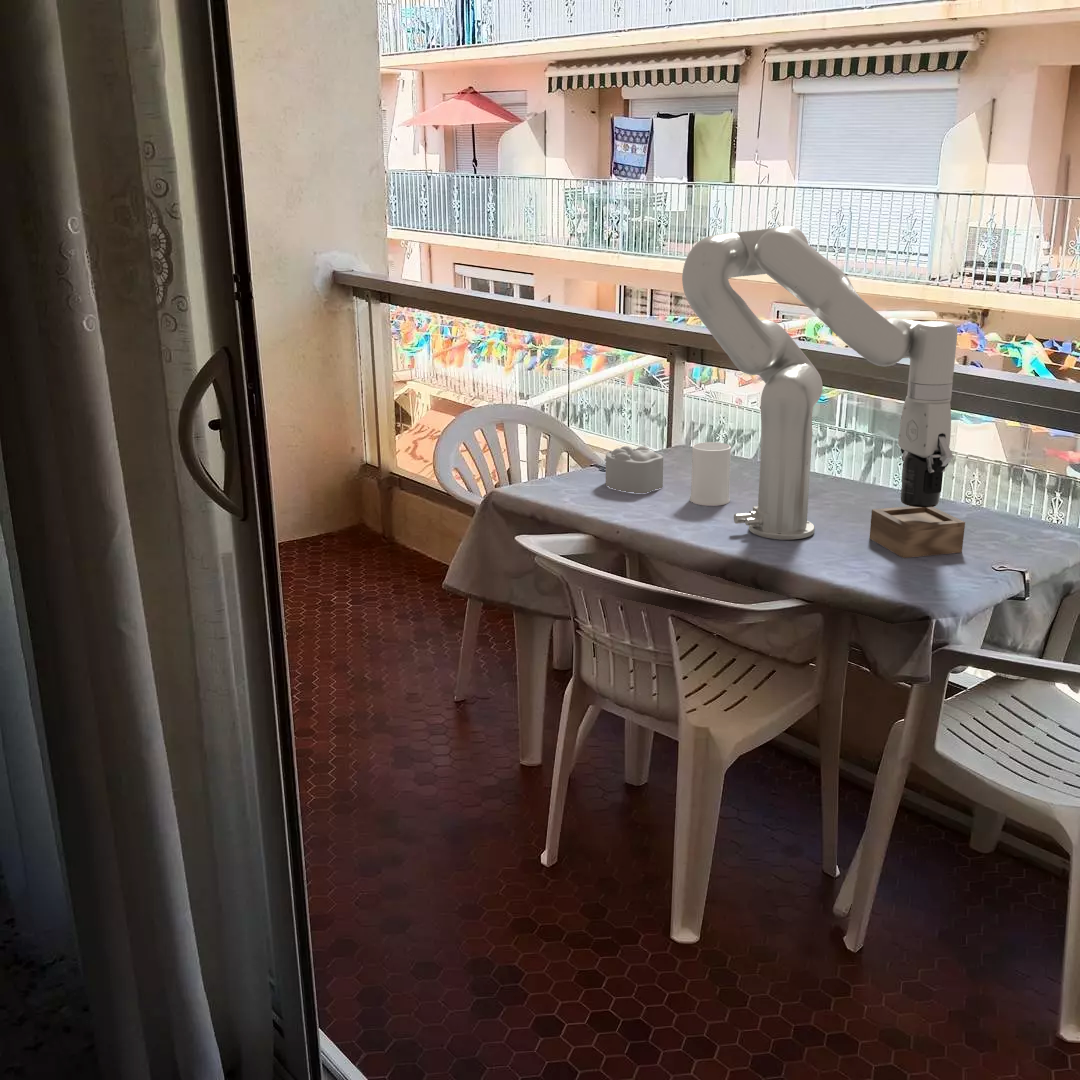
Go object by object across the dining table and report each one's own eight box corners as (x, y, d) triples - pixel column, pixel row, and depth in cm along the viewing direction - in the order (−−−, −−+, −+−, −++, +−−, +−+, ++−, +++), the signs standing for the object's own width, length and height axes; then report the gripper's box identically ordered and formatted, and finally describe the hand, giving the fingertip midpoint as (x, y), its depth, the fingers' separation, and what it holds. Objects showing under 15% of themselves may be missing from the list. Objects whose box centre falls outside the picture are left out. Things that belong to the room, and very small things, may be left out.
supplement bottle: (941, 509, 202) (947, 444, 198) (902, 507, 203) (907, 443, 200) (936, 499, 208) (942, 436, 205) (898, 497, 210) (903, 435, 206)
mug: (711, 490, 247) (713, 437, 243) (745, 496, 242) (747, 442, 238) (682, 501, 238) (683, 447, 235) (716, 508, 233) (718, 452, 229)
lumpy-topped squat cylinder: (640, 496, 243) (641, 457, 240) (594, 486, 251) (594, 449, 249) (668, 486, 250) (669, 449, 248) (622, 477, 259) (623, 441, 256)
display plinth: (903, 558, 201) (906, 527, 200) (869, 538, 213) (871, 509, 211) (961, 552, 204) (965, 522, 202) (925, 533, 215) (928, 504, 213)
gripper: (885, 385, 207) (878, 477, 212) (938, 401, 190) (929, 501, 196) (921, 382, 208) (913, 474, 214) (977, 399, 192) (966, 498, 198)
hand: (920, 486), depth 205 cm, fingers closed on supplement bottle, 6 cm apart
